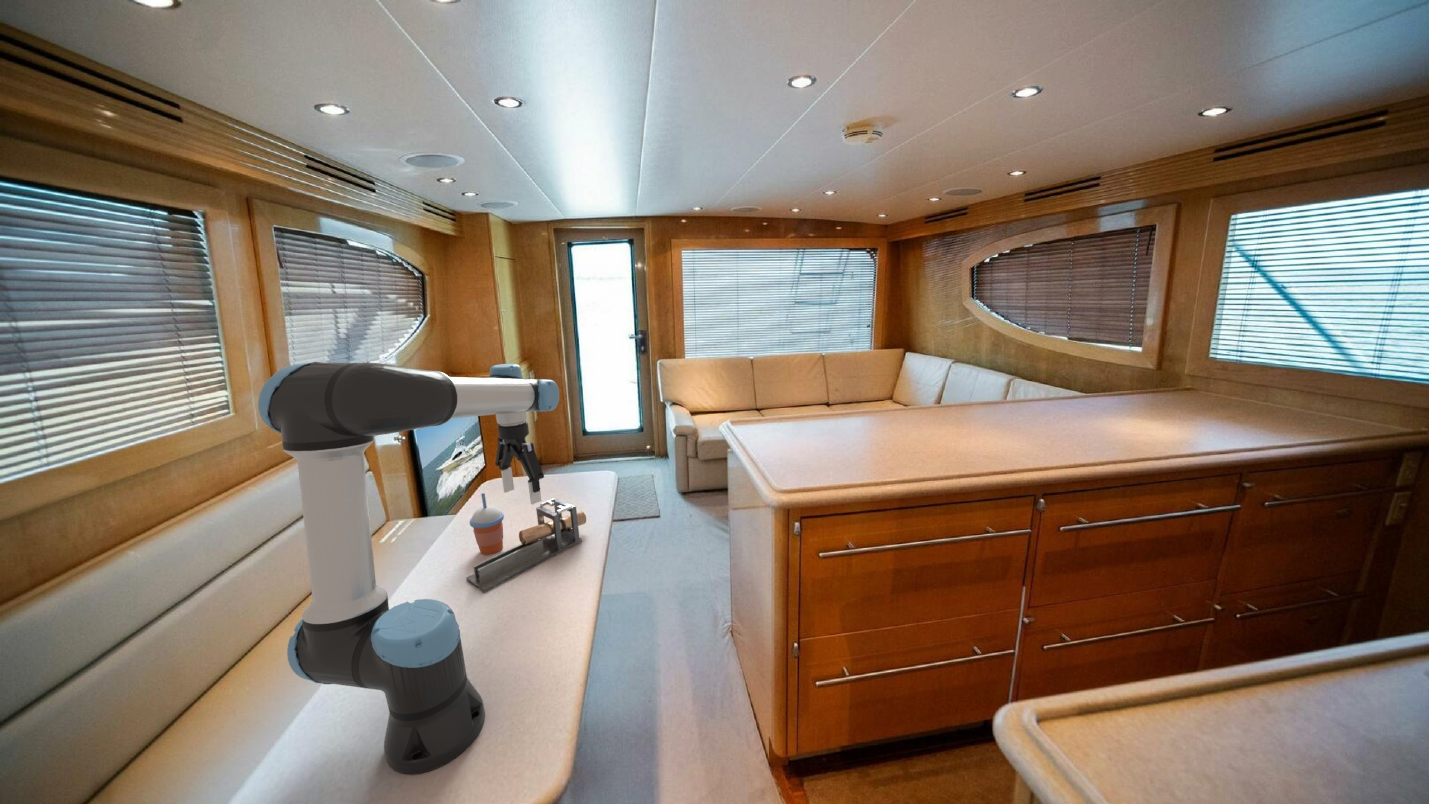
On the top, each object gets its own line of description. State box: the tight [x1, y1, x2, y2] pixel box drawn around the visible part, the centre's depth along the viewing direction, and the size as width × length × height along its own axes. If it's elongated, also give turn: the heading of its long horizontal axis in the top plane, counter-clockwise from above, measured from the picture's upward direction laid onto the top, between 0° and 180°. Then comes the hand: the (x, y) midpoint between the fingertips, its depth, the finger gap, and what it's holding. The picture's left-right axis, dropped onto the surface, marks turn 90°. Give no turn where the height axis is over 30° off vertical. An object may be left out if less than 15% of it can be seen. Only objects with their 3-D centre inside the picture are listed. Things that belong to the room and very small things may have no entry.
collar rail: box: [465, 497, 583, 594], centre depth 136 cm, size 30×9×13 cm, turn 142°
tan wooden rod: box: [518, 511, 587, 545], centre depth 143 cm, size 20×4×4 cm, turn 142°
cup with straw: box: [469, 492, 505, 556], centre depth 141 cm, size 9×9×18 cm
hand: (522, 496), depth 133 cm, fingers open, 13 cm apart
